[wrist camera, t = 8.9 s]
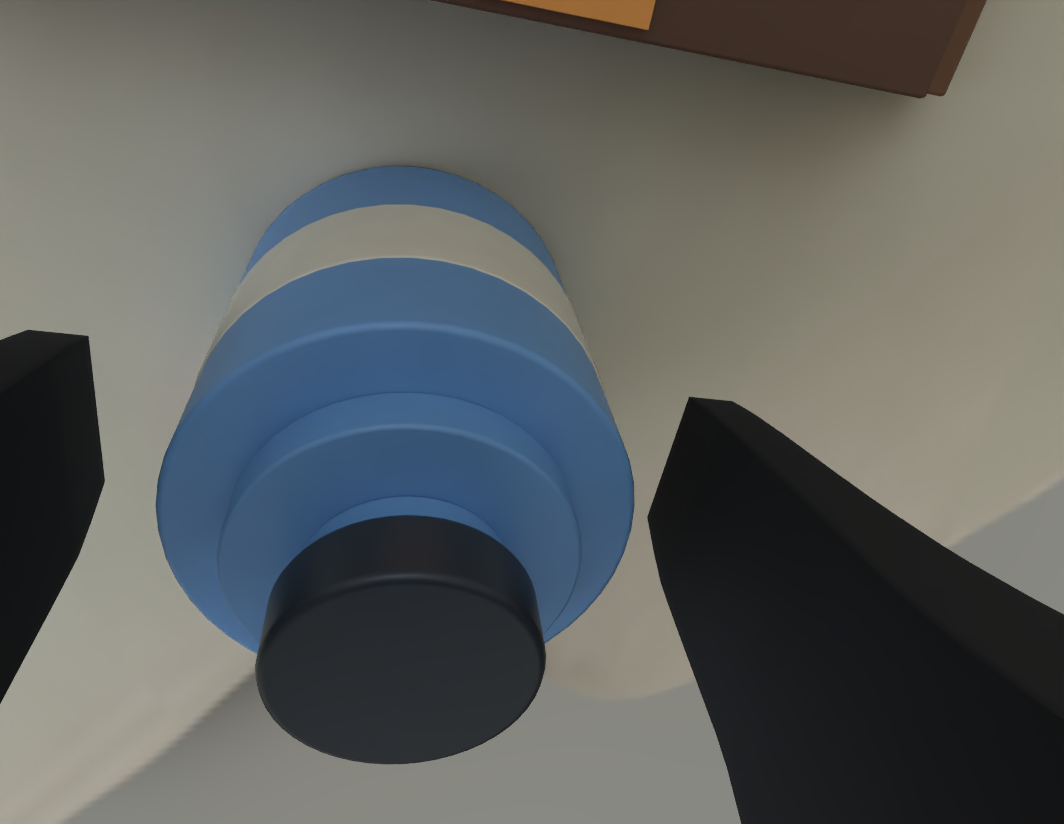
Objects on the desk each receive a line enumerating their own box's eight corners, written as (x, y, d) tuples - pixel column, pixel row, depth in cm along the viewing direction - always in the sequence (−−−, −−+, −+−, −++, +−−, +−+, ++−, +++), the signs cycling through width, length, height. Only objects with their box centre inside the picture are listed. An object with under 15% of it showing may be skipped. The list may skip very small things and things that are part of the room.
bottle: (404, 498, 14) (398, 893, 9) (169, 314, 12) (-51, 696, 6) (624, 331, 13) (788, 668, 7) (414, 85, 11) (415, 308, 5)
